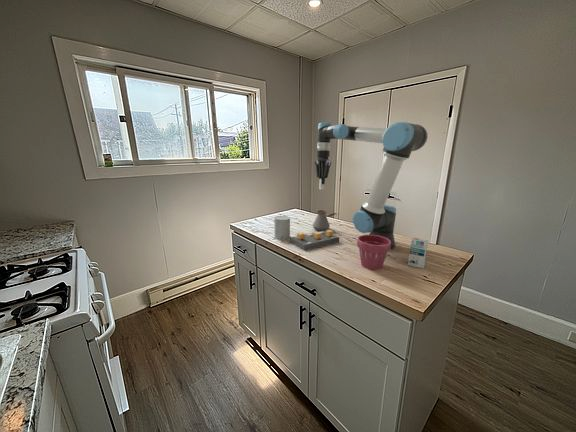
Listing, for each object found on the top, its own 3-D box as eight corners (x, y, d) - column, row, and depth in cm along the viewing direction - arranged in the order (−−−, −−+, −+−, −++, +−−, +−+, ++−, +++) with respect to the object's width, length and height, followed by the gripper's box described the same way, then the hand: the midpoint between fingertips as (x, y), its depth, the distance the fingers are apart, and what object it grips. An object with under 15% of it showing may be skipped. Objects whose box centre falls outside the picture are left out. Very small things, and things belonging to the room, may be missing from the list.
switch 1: (304, 238, 133) (304, 233, 132) (300, 239, 132) (300, 234, 131) (301, 236, 136) (301, 232, 135) (297, 237, 134) (297, 232, 133)
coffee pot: (309, 228, 163) (310, 207, 159) (323, 226, 168) (324, 205, 164) (327, 238, 144) (328, 214, 141) (342, 235, 149) (344, 212, 146)
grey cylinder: (271, 238, 142) (271, 218, 139) (278, 233, 151) (278, 215, 148) (286, 240, 139) (286, 220, 136) (292, 235, 148) (292, 216, 145)
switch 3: (332, 235, 138) (333, 231, 137) (328, 236, 137) (329, 231, 136) (329, 234, 141) (329, 229, 140) (325, 235, 139) (325, 230, 138)
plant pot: (348, 262, 111) (350, 237, 108) (369, 256, 118) (372, 232, 115) (372, 275, 99) (376, 247, 96) (394, 268, 106) (398, 241, 103)
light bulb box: (423, 269, 106) (427, 246, 103) (407, 265, 109) (410, 243, 107) (425, 260, 115) (428, 239, 112) (409, 257, 118) (412, 237, 115)
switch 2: (321, 238, 134) (321, 233, 133) (316, 239, 132) (317, 234, 132) (317, 236, 136) (317, 231, 136) (313, 237, 135) (313, 232, 134)
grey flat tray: (339, 242, 138) (339, 236, 137) (304, 250, 125) (304, 244, 124) (323, 235, 149) (323, 230, 148) (290, 242, 137) (290, 237, 136)
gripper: (311, 150, 146) (310, 188, 151) (325, 149, 135) (323, 191, 141) (321, 150, 149) (319, 187, 155) (335, 150, 139) (333, 190, 144)
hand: (321, 189), depth 148 cm, fingers closed
